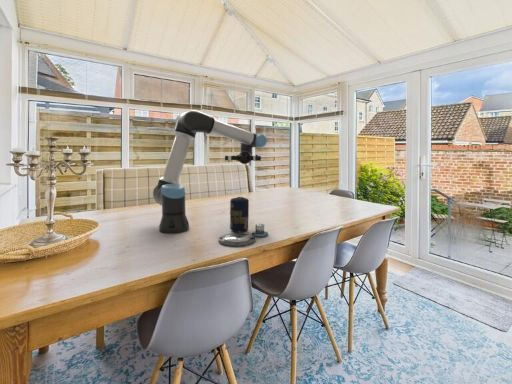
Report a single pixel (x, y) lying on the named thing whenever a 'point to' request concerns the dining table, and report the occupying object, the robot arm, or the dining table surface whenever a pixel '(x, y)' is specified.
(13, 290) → the dining table surface
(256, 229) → the flange small
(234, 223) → the canister
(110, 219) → the dining table surface
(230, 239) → the flange wide
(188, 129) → the robot arm
